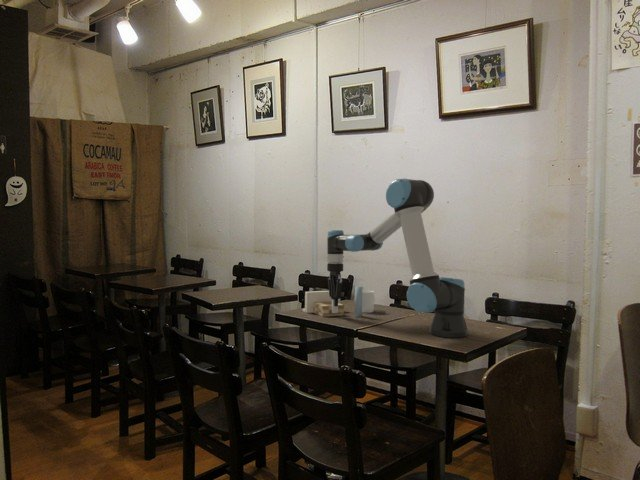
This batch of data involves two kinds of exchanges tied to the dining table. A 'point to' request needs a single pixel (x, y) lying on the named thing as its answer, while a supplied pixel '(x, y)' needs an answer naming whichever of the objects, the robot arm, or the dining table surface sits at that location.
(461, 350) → the dining table surface
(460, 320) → the robot arm
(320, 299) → the panel
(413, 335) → the dining table surface
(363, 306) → the cup
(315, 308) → the block
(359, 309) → the dowel
